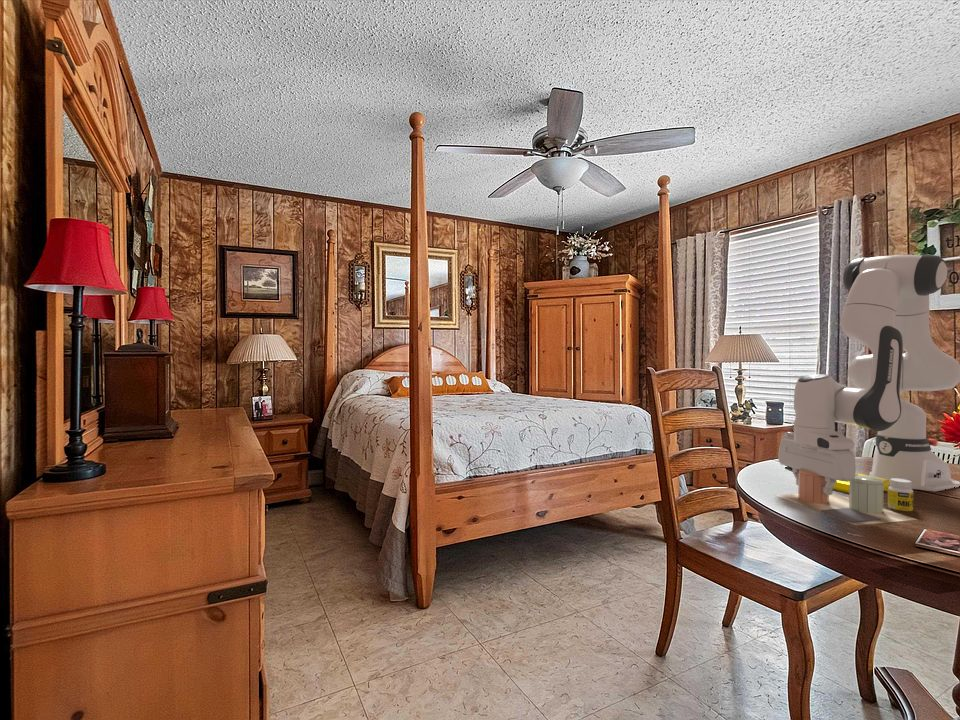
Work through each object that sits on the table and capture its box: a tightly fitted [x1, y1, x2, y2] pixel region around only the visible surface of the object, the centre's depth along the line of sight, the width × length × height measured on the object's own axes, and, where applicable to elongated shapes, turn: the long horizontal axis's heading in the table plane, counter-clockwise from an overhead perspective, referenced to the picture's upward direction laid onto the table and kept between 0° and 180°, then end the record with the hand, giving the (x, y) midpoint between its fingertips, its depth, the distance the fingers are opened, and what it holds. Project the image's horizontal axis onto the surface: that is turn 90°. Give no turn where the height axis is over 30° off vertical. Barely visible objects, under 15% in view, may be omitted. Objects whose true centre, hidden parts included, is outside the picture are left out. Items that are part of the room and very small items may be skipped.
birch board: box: [775, 492, 919, 526], centre depth 122 cm, size 17×23×2 cm
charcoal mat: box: [820, 508, 881, 524], centre depth 116 cm, size 8×8×1 cm
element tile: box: [832, 472, 890, 494], centre depth 141 cm, size 15×15×5 cm
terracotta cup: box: [797, 469, 829, 504], centre depth 128 cm, size 6×6×8 cm
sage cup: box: [848, 475, 885, 514], centre depth 120 cm, size 6×6×8 cm
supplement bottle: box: [887, 478, 914, 512], centre depth 121 cm, size 5×5×8 cm
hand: (813, 489), depth 128 cm, fingers closed on terracotta cup, 6 cm apart
